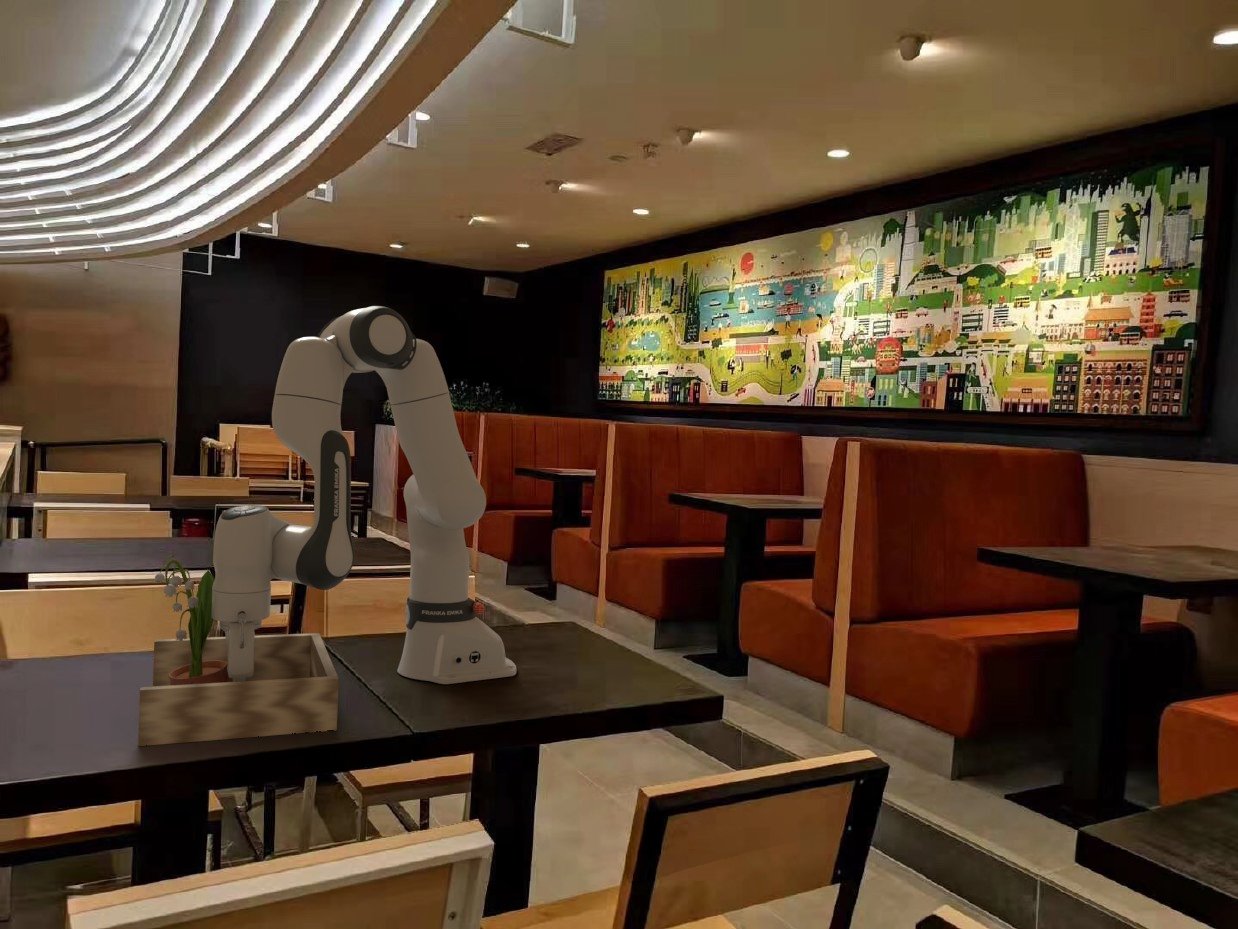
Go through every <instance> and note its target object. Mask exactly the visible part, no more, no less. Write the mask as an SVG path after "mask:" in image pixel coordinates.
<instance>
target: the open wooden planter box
mask: <svg viewBox="0 0 1238 929" xmlns="http://www.w3.org/2000/svg"><path fill="white" fill-rule="evenodd" d="M176 639H177V638H165V639H164V638H163V639H159V638H158V639H154V642H153V643H154V644H153V672H152V686H141V687H140V689H139V703H138V704H139V707H138V708H139V710H138V736H137V737H138V738H137V739H138V741H137V747H143V746H144V747H145V746H146V745H147V746H157V745H169V744H181V743H195V742H205V741H206V742H209V741H218V740H219V741H220V740H230V739H231V740H233V739H243V738H244V739H245V738H256V737H258V736H259V737H268V736H269V737H270V736H279V735H280V736H282V735H283V736H284V735H295V734H294V733H296V734H305V732H309V733H317V732H316V731H318V732H319V731H321V732H328V731H327V730H334V731H337V729H338V706H339V704H338V703H339V702H338V701H339V681H340V680H339V679H340V678H339V677H338V674H337V671H336V669H335V667H334V665H333V662H332V660H331V657H330V655H329V653H328V650H327V648H326V645H325V643H324V641H323V639H322V637H321V634H320V633H319V632H318V633H317V632H313V633H312V632H311V633H290V634H289V633H288V634H287V633H286V634H267V635H265V634H264V635H263V634H262V635H255V644H254V672H253V675H252V676H251V677H247V678H246V679H245V681H242V682H224V683H207V684H189V685H172V686H170V679H169V677H168V675H169V673H170V672H172V671H173V670H175V669H177V668H179V667H182V666H185V665H189V664H191V660H192V651H191V645H190V638H189V637H187V639H184V638H183V640H182V641H179V640H176ZM212 660H218V661H224V662H226V663H227V645H226V637H225V636H211V637H208V636H207V639H206V643H205V646H204V650H203V653H202V662H203V661H212ZM227 671H228V666H227ZM232 679H233V678H232ZM292 733H293V734H292ZM147 746H146V747H147Z"/></svg>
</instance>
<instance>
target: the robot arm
mask: <svg viewBox="0 0 1238 929" xmlns="http://www.w3.org/2000/svg"><path fill="white" fill-rule="evenodd" d="M282 359H283V360H282V362H281V366H280V370H279V372H278V377H277V381H276V385H275V390H274V391H275V392H274V396H273V402H272V403H273V404H272V409H271V423H272V425H271V426H272V429H273V432H274V435H276V438H278V441H280V442H281V443H282V444H283V446H285V447H286V448H287V449H289V450H290V451H291V452H293V453H295V454H296V455H297V456H299V457H300V458H302V460H304V461H305V462H306V463H307V464H308V466H309V467H310V470H311V471H312V473H313V474H312V475H313V478H314V496H313V497H314V500H313V501H314V502H313V503H314V504H313V509H314V510H313V511H314V512H313V513H314V514H313V524H312V526H309V525H302V524H299V523H290V522H289V521H287V520H284V519H281V518H279V517H278V516H276V515H275V514H273V513H272V512H271V511H270V510H269V508H268V507H267V506H265V505H259V504H249V505H238V506H234V507H231V508H227V509H226V510H225V511H223V512H222V513H221V514H220V516H219V518H218V521H217V523H216V527H215V532H214V539H213V554H212V555H213V556H212V561H213V562H212V564H213V567H214V572H215V574H214V575H215V576H214V583H213V586H212V610H211V617H212V619H213V621H214V620H215V621H218V622H219V626H218V627H219V629H221V630H222V631H223V630H224V635H225V636H224V637H226V645H227V664H228V676H229V678H233V682H242V681H245V679H246V678H247V677H251V676H252V675H253V672H254V644H255V636H256V635H255V634H256V633H255V630H258V629H260V628H261V627H262V623H263V622H262V621H263V620H266V619H268V618H270V616H271V602H272V601H271V597H272V583H271V581H272V580H273V579H275V580H276V579H277V580H282V581H285V582H289V583H296V584H300V585H301V584H302V585H303V586H307V587H310V588H314V589H315V590H316V589H317V590H319V591H328V590H331V589H333V588H335V587H337V586H338V585H339V584H341V583H342V582H343V581H344V580H345V579H346V578H347V577H348V575H349V574H350V572H351V571H352V569H353V566H354V560H355V549H354V548H355V547H354V541H353V536H352V526H351V525H352V524H351V519H352V518H351V515H352V514H351V509H352V506H351V505H352V504H351V502H352V500H351V499H352V498H351V497H352V496H351V495H352V494H351V492H352V470H351V469H352V463H351V462H352V460H351V459H352V458H351V449H350V445H349V441H348V440H347V438H346V437H345V436H344V434H343V430H342V424H341V421H342V420H341V411H342V405H343V403H342V402H343V394H344V392H343V391H344V388H345V384H346V382H347V380H348V378H349V377H350V375H353V374H357V373H359V374H361V373H370V372H374V371H375V373H377V374H378V375H379V376H380V378H381V379H382V381H383V383H384V386H385V387H386V391H387V396H388V401H389V404H390V405H389V406H390V410H391V413H392V419H393V421H394V426H395V430H396V434H397V438H398V443H399V445H400V448H401V449H402V451H403V453H404V456H405V458H406V459H407V462H408V464H409V466H410V469H411V472H412V475H410V477H409V478H408V479H407V481H406V483H405V484H404V486H403V487H404V489H403V498H404V502H405V509H406V521H407V533H408V539H409V540H408V542H409V548H410V550H409V551H410V571H409V572H410V573H409V575H410V578H409V596H408V597H407V598H406V599H407V600H406V605H405V627H406V634H405V639H404V645H403V650H402V655H401V657H400V661H399V664H398V666H397V667H398V668H397V673H398V674H399V675H401V676H403V677H406V678H409V679H414V680H419V681H427V682H428V681H429V682H431V683H432V682H433V683H436V684H439V685H441V684H442V685H450V684H459V683H467V682H474V681H482V680H483V681H484V680H491V679H499V678H507V677H513V676H515V675H516V674H517V665H516V664H515V663H514V661H512V660H511V659H509V658H508V657H506V651H505V645H504V642H503V639H502V638H501V636H500V635H499V634H498V633H497V632H495V631H494V630H493V629H492V628H490V626H488V625H487V624H485V623H484V622H483V621H482V620H481V619H480V618H478V617H477V615H482V614H484V612H485V610H486V607H485V606H484V604H483V603H481V602H478V601H475V600H474V599H472V598H470V597H469V584H470V583H469V582H470V579H469V578H470V564H471V563H470V562H471V561H470V554H469V551H468V548H467V545H466V544H467V543H466V540H465V532H464V529H466V528H469V527H471V526H473V525H475V524H476V523H477V522H479V520H480V519H481V518H482V517H483V515H484V513H485V510H486V506H487V496H486V493H485V490H484V488H483V487H482V485H481V483H480V482H479V480H478V478H477V476H476V473H475V471H474V468H473V464H472V462H471V460H470V458H469V455H468V453H467V450H466V448H465V445H464V444H463V441H462V438H461V435H460V432H459V429H458V426H457V421H456V416H455V412H454V408H453V404H452V400H451V396H450V395H451V394H450V392H449V387H448V383H447V380H446V376H445V374H444V371H443V368H442V366H441V362H440V360H439V358H438V356H437V353H436V351H435V349H434V347H433V346H432V345H431V344H430V343H429V342H428V341H425V340H423V339H420V338H417V337H416V335H415V334H414V333H413V332H412V330H411V329H410V326H409V325H408V323H407V321H406V320H405V318H404V317H403V316H402V315H401V314H400V313H399V312H397V311H396V310H394V309H393V308H390V307H386V306H381V305H371V306H368V307H363V308H357V309H353V310H350V311H348V312H346V313H344V314H343V315H341V316H338V317H333V319H331V320H330V321H329V322H327V323H326V324H325V325H324V326H323V328H322V329H321V330H320V332H319V333H318V334H317V335H316V336H303V337H300V338H296V339H294V340H293V341H292V342H290V344H289V345H288V347H287V349H286V352H285V353H284V356H283V358H282Z"/></svg>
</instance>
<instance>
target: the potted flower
mask: <svg viewBox="0 0 1238 929" xmlns="http://www.w3.org/2000/svg"><path fill="white" fill-rule="evenodd" d="M174 557H175V555H174V554H171V555H169V556H167V557H166V558H165V559H164V560H163V564H162V566H163V567H162V568H161V569H160V572H159V573H156V574H155V576H154V581H153V582H154V583H163V584H164V583H165V586H164V587H163V593H164V594H165V595H164V597H167V598H172V597H173V596H175V602H174V603H173V605H172V608H173V611H172V612H174V613H175V612H177V613H178V612H182V613H181V615H180V618H179V629H177V631H176V632H175V634H174V635H175V639H176V640H179V641H182V640H183V638H184V639H187V638H190V645H191V651H192V660H191V664H189V665H185V666H182V667H179V668H177V669H175V670H173V671H172V672H170V673H169V675H168V677H169V679H170V686H172V685H189V684H207V683H224V682H233V679H232V678H229V676H228V671H227V666H228V664H227V663H226V662H224V661H218V660H212V661H203V662H202V653H203V650H204V646H205V643H206V639H207V638H208V636H209V633H210V631H211V629H212V627H213V623H214V619H212V617H211V610H212V586H213V583H214V580H215V578H214V575H213V574H212V572H210V570H209V569H208V570H207V571H206V572H204V573H203V575H202V577H201V579H200V583H199V585H198V589H197V592H196V595H195V596H194V590H195V583H194V581H192V580H190V579H191V576H190V572H189V571H188V569H184V567H183V566H182V564H181V563H180V561H178V559H175V558H174ZM169 558H173V559H170V560H169V561H168V562H167V564H166V566H165V563H166V561H167V560H168V559H169ZM172 564H175V565H174V567H173V570H172V573H171V574H170V575H169V576H168V572H169V569H170V566H171V565H172ZM176 568H178V569H176ZM164 569H165V572H164V573H162V571H163V570H164ZM176 573H180V574H181V576H182V578H181V576H179V575H175V574H176ZM186 573H187V574H186ZM187 575H188V576H187ZM182 580H183V581H182ZM183 583H184V585H183ZM181 586H184V588H185V589H184V590H185V591H184V590H180V591H178V590H177V588H178V587H181ZM180 593H182V594H184V595H186V598H187V605H186V607H187V608H186V609H183V605H182V603H181V602H178V595H180ZM186 612H188V613H189V616H190V617H189V620H188V624H187V628H188V630H185V629H184V628H181V625H182V619H183V616H184V614H185V613H186ZM187 631H188V633H187ZM187 634H188V636H187Z"/></svg>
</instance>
